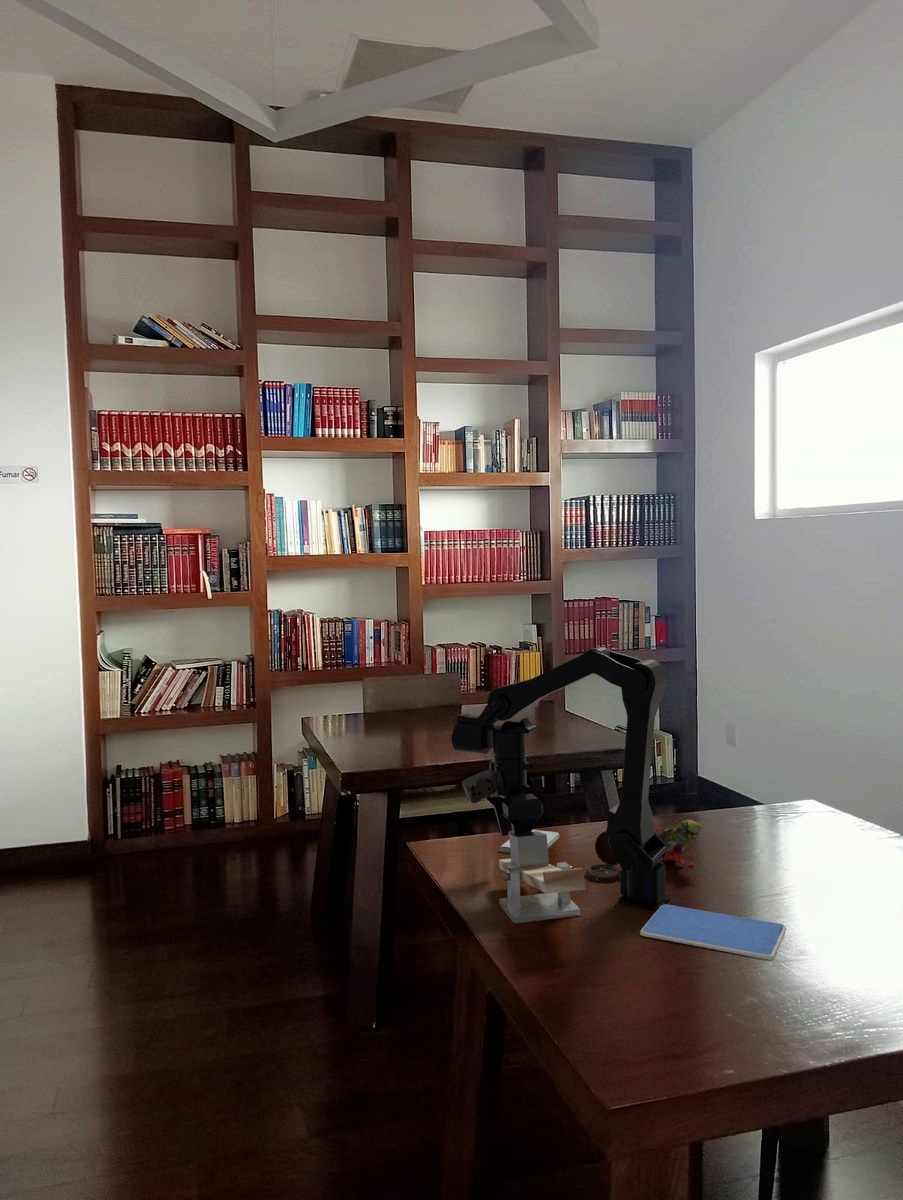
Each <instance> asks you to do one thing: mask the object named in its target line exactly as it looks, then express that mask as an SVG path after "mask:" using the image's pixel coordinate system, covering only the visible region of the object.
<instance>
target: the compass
mask: <svg viewBox="0 0 903 1200" xmlns="http://www.w3.org/2000/svg"><path fill="white" fill-rule="evenodd" d="M605 832H606V830H605V831H603V832H601V833H600V834H599V835H598V836H597V837H596V839H595V843H594V850H595V853H596V855H597V857H598V859H599V860H600V861H601V862H603V863H600V864H593V865H591V866H589V868H587V869H586V871H585V876H586V877H587V878H588V879H590V880H592V881H594V882H601V883H602V882H603V883H604V882H605V883H607V882H613V881H617V880H620V871H621V870H620V869H619V868H618V867H616V866H617V865H620V863H619V860H618V857H617V854H616V853H614V851H613V850H612V848H610V846H609V843H608V836H609V835H607V836H605Z"/></svg>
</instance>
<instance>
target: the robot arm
mask: <svg viewBox="0 0 903 1200" xmlns="http://www.w3.org/2000/svg"><path fill="white" fill-rule="evenodd" d="M591 675H597V676H599V677H600V678H602V679H603V680H605V681H607V682H608V683H610V684H612V685H614V686H616V687H618V688H621V699H622V702H623V705H624V709H625V713H626V732H625V741H624V742H625V743H624V744H625V745H624V755H623V767H622V768H623V769H622V779H621V780H622V781H621V794H620V801H619V802H618V803H617V804H615V805H614V806H612V807H611V808H610V809H609V810H607V813H606V820H607V821H606V822H607V824H606V825H607V826H606V830H605V831H606V832H605V831H604V832H605V836H607V835H609V836H608V843H609V846H610V848H612V850H613V851H614V853H616V854H617V857H618V860H619V863H620V864H619V866H620V868H621V870H620V878H619V883H620V885H619V888H620V889H619V890H620V893H619V894H620V895H621V896H619V897H618V898H617V902H618V903H619V904H620V903H621V904H624V905H627V906H628V905H629V906H633V907H638V908H642V909H645V910H649V911H655V910H656V909H659V907H660V906H661V905H664V904H665V903H667V902H668V901H669V900H671V895H669V894H666V892H667V891H666V890H667V889H666V884H667V883H666V864H665V863H664V864H661V863H660V862H662V861H661V860H662V859H664V858H665V856H666V853H667V850H668V846H667V845H666V844H665V843H664V842H663V841H662V840H661V839H660V837H659V836H658V835H659V834H657V833H656V831H655V826H654V825H655V824H654V816H653V812H652V809H651V806H650V801H649V793H650V781H651V769H652V768H651V766H652V759H653V757H652V756H653V744H654V733H655V721H656V719H655V718H656V717H657V716H656V715H657V713H658V710H659V707H660V705H661V702H662V700H663V697H664V694H665V691H666V686H667V682H668V672H667V669H666V668H665V667H664V666H663V665H662V664H661V663H660V662H659V661H657V660H655V659H652V658H651V659H648V658H647V659H644V660H642V659H639V658H637V657H635V656H630V655H627V654H623V653H620V652H616V651H613V650H610V649H609V648H606V647H604V646H597V647H594V648H590V649H587V650H586V651H585V652H584V653H583V654H580V655H579V656H577V657H574V658H572V659H570V660H568V661H566V662H564V663H562V664H559V665H557V666H555V667H553V668H551V669H549V670H548V671H545V672H543V673H540V674H539V675H537V676H535V677H533V678H529V679H525V680H521V681H517V682H513V683H510V684H506V685H504V686H499V687H496V688H495V689H492V690H491V691H490V692H489V693H488V697H487V703H486V706H485V707H484V708H483V710H482V712H481V713H480V715H473V714H468V713H462V714H458V715H457V716H456V719H457V720H456V721H457V722H456V723H455V725H454V726H453V730H452V734H451V736H450V737H451V746H452V748H453V750H454V751H456V752H461V753H462V752H463V753H471V754H483V755H486V754H488V753H489V752H490V751H491V749H492V751H493V759H491V760H490V762H488V765H489V768H488V769H486V770H484V771H481V772H479V773H477V774H474V775H472V776H470V777H467V778H465V779H463V780H462V781H461V786H462V788H463V791H464V793H465V796H466V798H467V800H469V801H470V803H472V804H477V803H479V802H481V801H482V800H483V799H486V801H488V802H489V803H490V804H491V805H492V806H493V809H494V812H495V816H496V820H497V823H498V827H499V828H498V829H499V831H500V834H501V836H502V837H507V836H508V835H509V834H510V833H509V832H510V830H511V829H512V834H514V833H524V832H532V830H534V827H535V825H536V823H537V821H538V820H539V819H540V818H541V816H543V815H544V802H542V801H541V799H539V798H538V797H536V796H535V795H534V794H533V793H531V786H530V785H529V784H527V770H530V766H531V765H530V762H528V761H527V746H526V744H527V743H526V735H528V734H530V733H533V732H535V731H537V730H538V727H537V725H536V724H534V723H533V722H531V721H530V719H529V718H528V717H524V718H522V719H520V721H516V720H515V721H513V720H510V719H513V718H515V717H518V716H521V715H523V714H525V713H526V712H527V711H529V710H530V709H532V708H533V707H534V706H536V705H537V704H538V703H539V702H541V700H543V699H544V698H545V697H547V696H549V695H550V694H553V693H555V692H557V691H559V690H562V689H564V688H566V687H568V686H570V685H572V684H574V683H576V682H579V681H581V680H583V679H585V678H587V677H591ZM506 720H507V721H506ZM500 721H502V722H503V724H495V723H497V722H500Z"/></svg>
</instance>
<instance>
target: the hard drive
mask: <svg viewBox="0 0 903 1200" xmlns="http://www.w3.org/2000/svg"><path fill="white" fill-rule="evenodd" d="M534 831H538V832H541V833H544V834H547V845H548V849H549V848H550V847H551V846H552V845H553V844H554V843H555V842H556V841H557V840H558V839H560V833H559V832H556V831H548V830H547V831H546V830H537V829H536V830H535V829H532V832H534ZM499 852H501V853H510V839H507V841H505V842H504V843H503V844H502V845H501V846H500V847H499ZM510 854H511V853H510Z"/></svg>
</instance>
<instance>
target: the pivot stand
mask: <svg viewBox="0 0 903 1200" xmlns="http://www.w3.org/2000/svg"><path fill="white" fill-rule="evenodd" d="M556 867H558V868H560V869H562V870H565V869H574V866H573V865H570V864H568V863H567V862H566V861H565V862H556ZM502 880H503V882H507V883H506V888H507V889H506V890H507V893H506V894H507V897H503V898H499V906H500V905H501V906H500V907H501V908H502V909H503V911H504V912H505V913H506V915H507V917H509V919H510V920H511V922H512V923H513V924H520V923H529V922H536V921H537V922H538V921H546V920H553V919H563V918H568V917H577V916H579V917H580V916H581V908H579V906H578V905H577V904H576V903H575V902H574V901H573V900H572V899H571V891H568V892H559V893H550V894H546V893H539V894H529V895H521V883H520V882H521V880H520V872H519V870H518V869H517V868H507V872H505V873H502Z"/></svg>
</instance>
